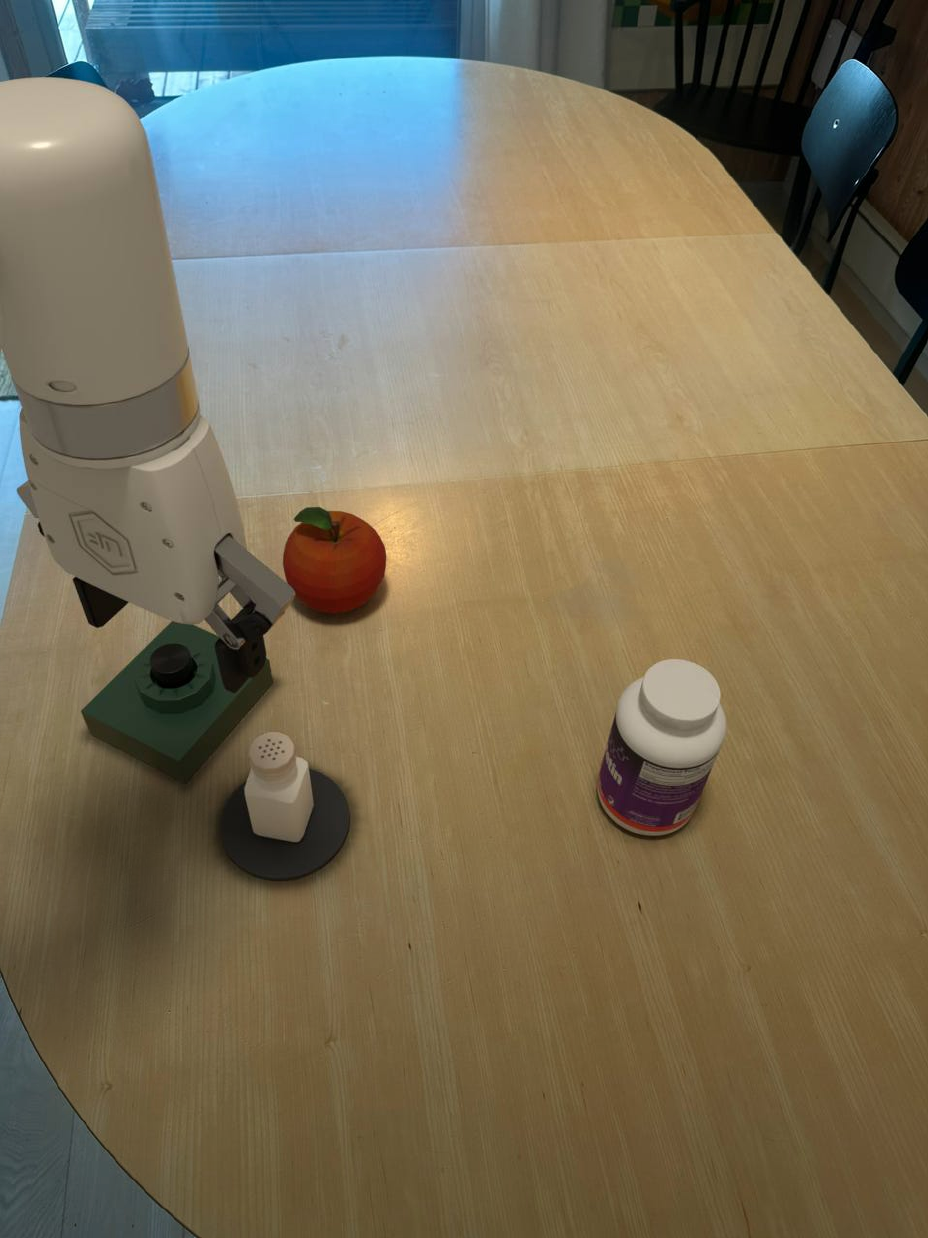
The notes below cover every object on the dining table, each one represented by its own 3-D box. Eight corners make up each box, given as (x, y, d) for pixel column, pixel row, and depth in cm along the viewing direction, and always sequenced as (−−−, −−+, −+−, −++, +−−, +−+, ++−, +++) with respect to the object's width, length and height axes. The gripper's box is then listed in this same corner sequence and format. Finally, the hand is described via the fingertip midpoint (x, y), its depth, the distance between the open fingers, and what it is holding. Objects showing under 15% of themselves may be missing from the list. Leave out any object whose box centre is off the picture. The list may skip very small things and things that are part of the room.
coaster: (302, 903, 71) (302, 901, 71) (194, 844, 74) (193, 841, 74) (373, 801, 78) (373, 798, 77) (270, 750, 80) (270, 747, 80)
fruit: (375, 637, 89) (372, 559, 82) (275, 622, 90) (262, 543, 83) (397, 566, 96) (396, 488, 88) (303, 553, 97) (294, 474, 89)
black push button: (177, 694, 78) (172, 678, 77) (146, 679, 79) (141, 663, 78) (202, 668, 80) (198, 652, 79) (171, 653, 81) (167, 637, 80)
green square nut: (185, 784, 78) (174, 748, 74) (90, 734, 81) (74, 697, 77) (273, 682, 85) (267, 645, 82) (182, 640, 88) (172, 602, 84)
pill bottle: (599, 749, 82) (627, 636, 71) (694, 765, 81) (737, 653, 71) (591, 832, 76) (620, 723, 66) (693, 850, 76) (739, 743, 65)
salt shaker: (316, 802, 77) (307, 732, 70) (301, 847, 74) (290, 778, 67) (267, 793, 77) (253, 722, 70) (251, 837, 74) (234, 767, 67)
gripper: (-96, 376, 44) (17, 628, 56) (213, 503, 39) (261, 749, 51) (27, 303, 48) (106, 552, 61) (318, 408, 43) (339, 656, 56)
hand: (177, 642), depth 56 cm, fingers open, 9 cm apart
